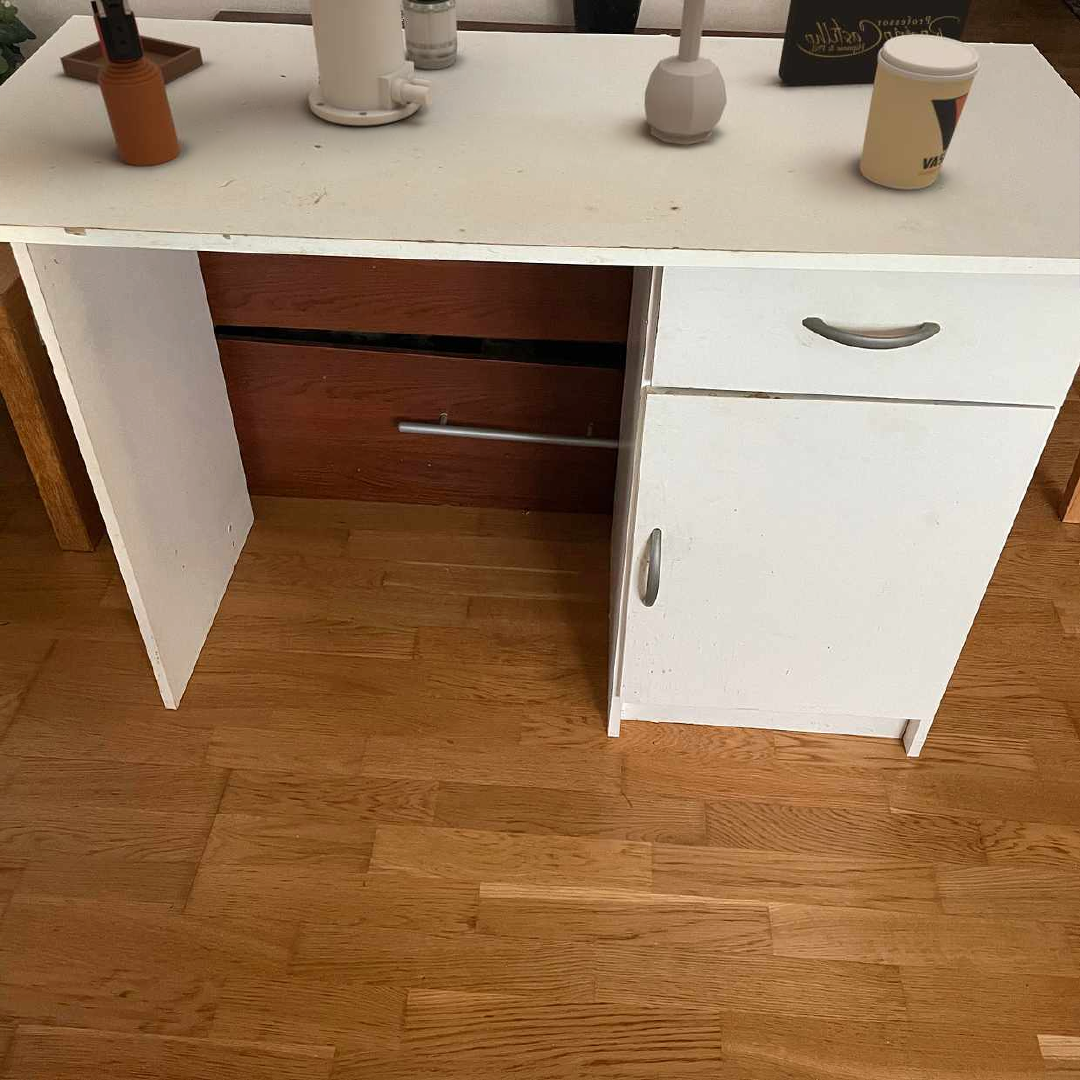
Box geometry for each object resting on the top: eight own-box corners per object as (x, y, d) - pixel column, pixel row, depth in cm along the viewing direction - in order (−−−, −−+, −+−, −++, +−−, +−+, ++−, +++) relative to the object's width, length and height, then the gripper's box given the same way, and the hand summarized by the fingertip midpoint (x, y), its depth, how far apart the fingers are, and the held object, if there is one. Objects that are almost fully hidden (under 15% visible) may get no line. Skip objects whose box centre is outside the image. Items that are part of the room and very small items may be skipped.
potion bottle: (730, 123, 112) (756, -60, 100) (705, 154, 107) (729, -36, 94) (656, 109, 115) (672, -71, 102) (627, 138, 109) (641, -48, 97)
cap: (152, 52, 99) (142, 12, 96) (126, 64, 97) (115, 24, 94) (122, 45, 100) (112, 6, 97) (96, 58, 98) (84, 17, 95)
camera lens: (456, 51, 127) (453, -18, 121) (459, 69, 123) (457, -1, 117) (405, 52, 126) (400, -17, 121) (407, 71, 122) (402, 0, 116)
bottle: (192, 147, 106) (161, 14, 97) (153, 170, 102) (117, 34, 93) (147, 136, 108) (112, 5, 99) (107, 158, 104) (67, 23, 95)
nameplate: (942, 74, 124) (967, -16, 116) (948, 80, 122) (975, -11, 115) (776, 80, 121) (792, -11, 114) (781, 86, 120) (797, -5, 113)
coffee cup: (929, 202, 100) (967, 76, 91) (838, 178, 103) (866, 55, 95) (955, 167, 105) (993, 45, 97) (868, 145, 109) (898, 26, 100)
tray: (203, 64, 123) (199, 47, 121) (146, 94, 116) (141, 76, 115) (125, 48, 126) (120, 30, 125) (65, 75, 120) (59, 57, 118)
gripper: (123, -161, 81) (178, 76, 94) (96, -198, 92) (148, 19, 105) (23, -154, 79) (94, 88, 92) (7, -193, 89) (72, 29, 102)
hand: (122, 49), depth 98 cm, fingers closed on cap, 3 cm apart
